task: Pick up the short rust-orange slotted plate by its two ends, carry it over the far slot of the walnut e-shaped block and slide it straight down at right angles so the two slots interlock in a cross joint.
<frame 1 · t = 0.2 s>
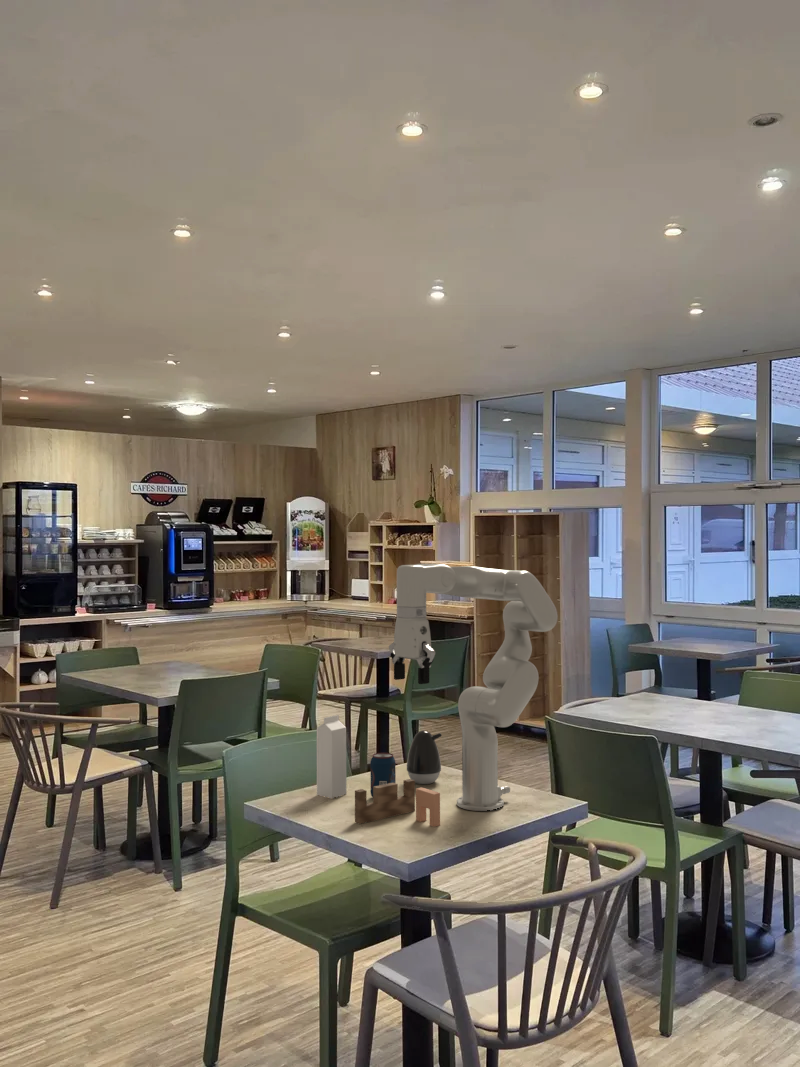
hand: (411, 681, 230), 35 cm above the table, tool pointing down, fingers open, 9 cm apart
pump dispenser: (424, 782, 269), on the table
slotted plate: (427, 822, 229), on the table
soda can: (383, 799, 252), on the table
milk: (331, 795, 256), on the table
walnut e-shaped block: (385, 816, 235), on the table
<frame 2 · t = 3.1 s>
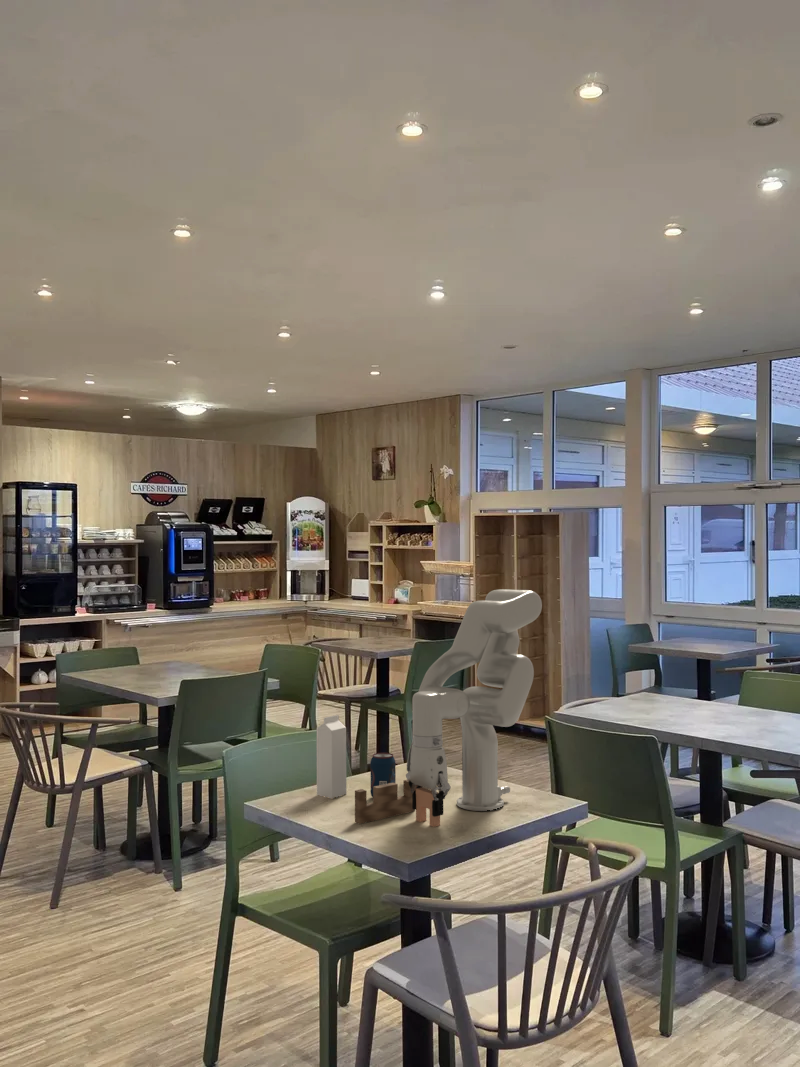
hand: (427, 811, 229), 3 cm above the table, tool pointing down, fingers closed on slotted plate, 7 cm apart
slotted plate: (427, 822, 229), on the table, touching gripper
everything else where it was.
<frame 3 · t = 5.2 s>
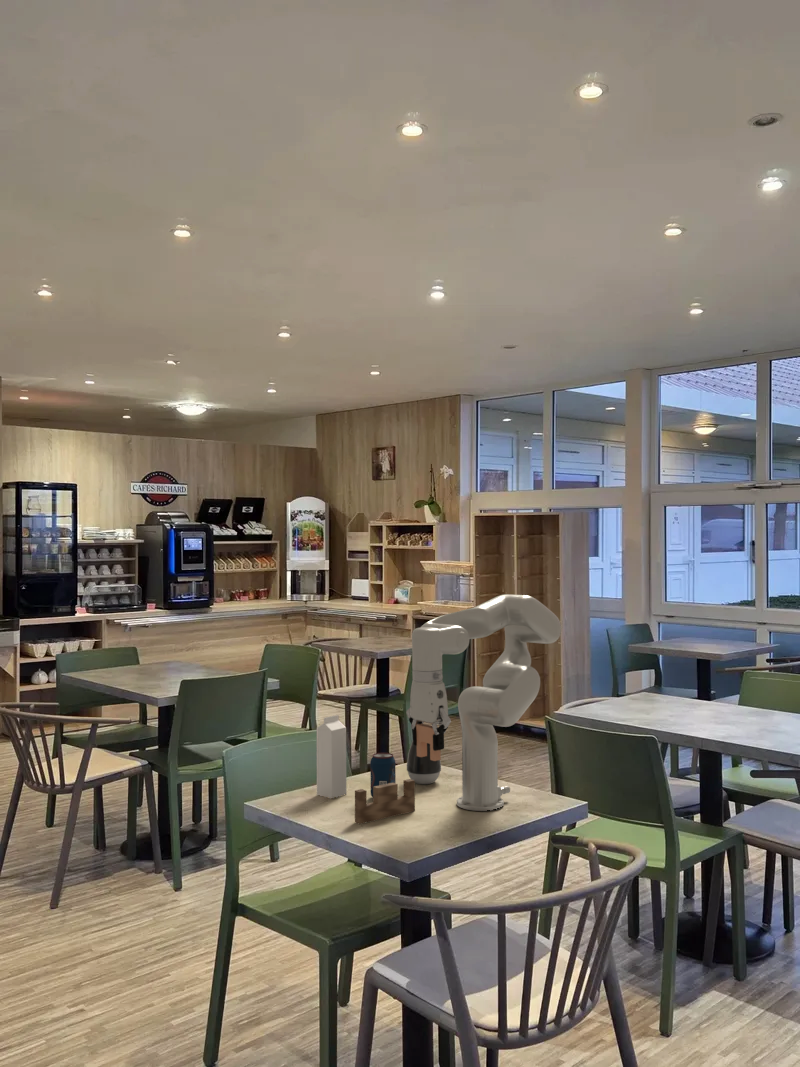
hand: (428, 746, 230), 19 cm above the table, tool pointing down, fingers closed on slotted plate, 7 cm apart
slotted plate: (428, 757, 230), point 16 cm above the table, touching gripper
everything else where it was.
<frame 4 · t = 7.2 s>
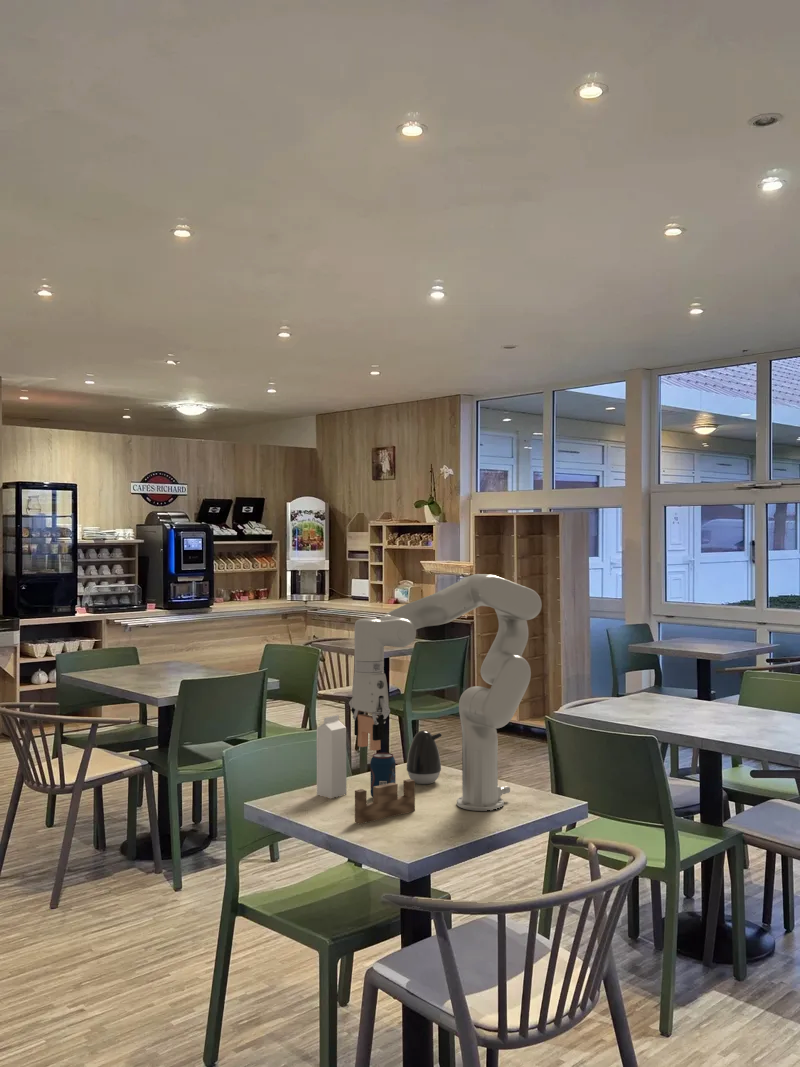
hand: (369, 736, 232), 21 cm above the table, tool pointing down, fingers closed on slotted plate, 7 cm apart
slotted plate: (369, 747, 232), point 18 cm above the table, touching gripper
everything else where it was.
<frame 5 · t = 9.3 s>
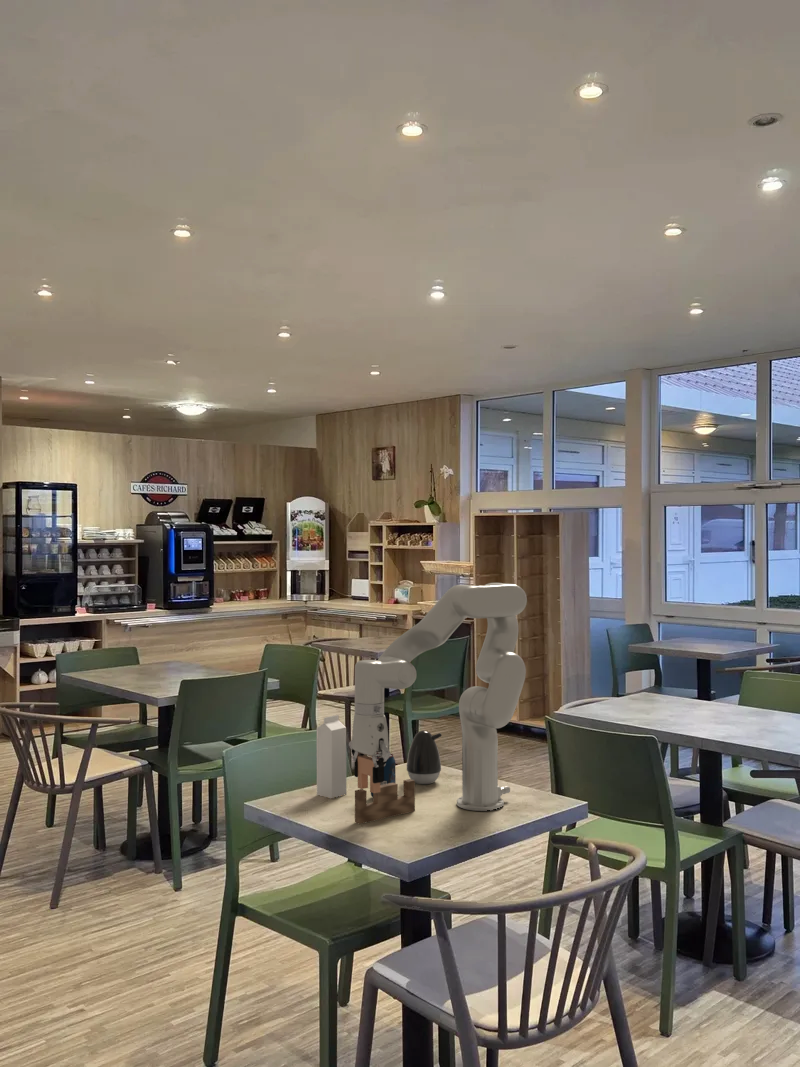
hand: (369, 778, 232), 11 cm above the table, tool pointing down, fingers closed on slotted plate, 7 cm apart
slotted plate: (368, 789, 232), point 8 cm above the table, touching gripper
everything else where it was.
when the fingers open (4 cm above the table, at t = 11.2 s): slotted plate stays where it is, resting on walnut e-shaped block.
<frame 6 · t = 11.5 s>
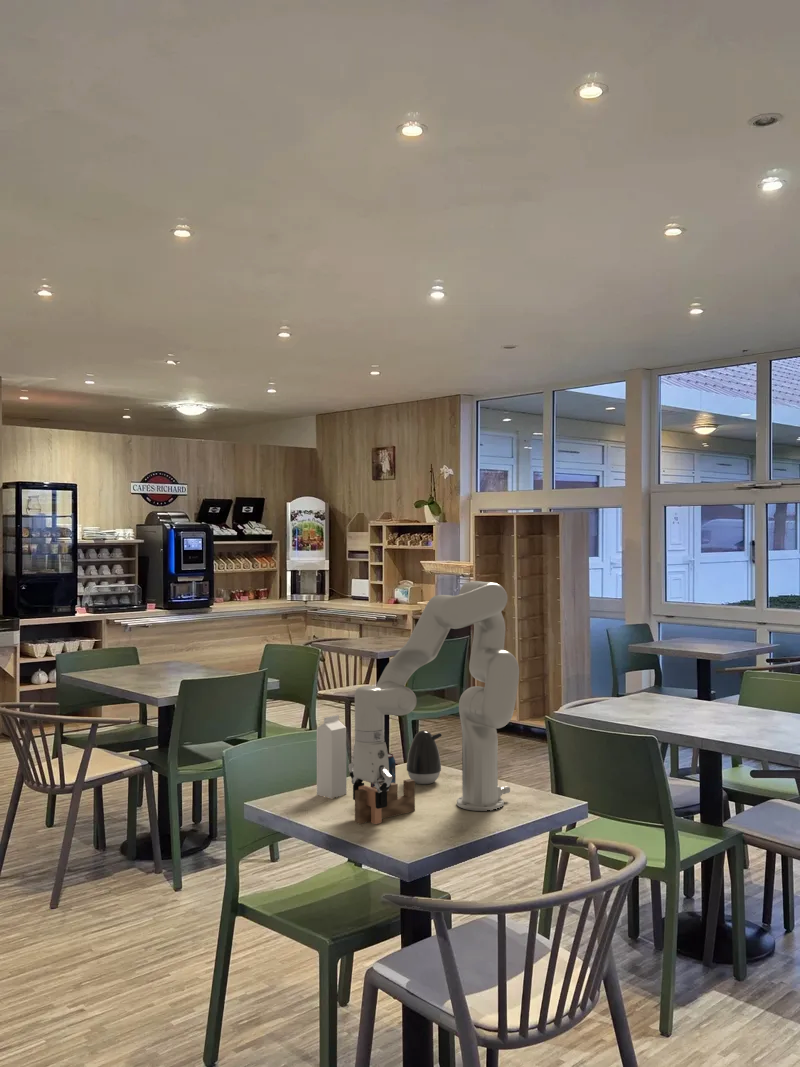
hand: (369, 803, 232), 4 cm above the table, tool pointing down, fingers open, 9 cm apart
slotted plate: (370, 820, 232), resting on walnut e-shaped block
everything else where it was.
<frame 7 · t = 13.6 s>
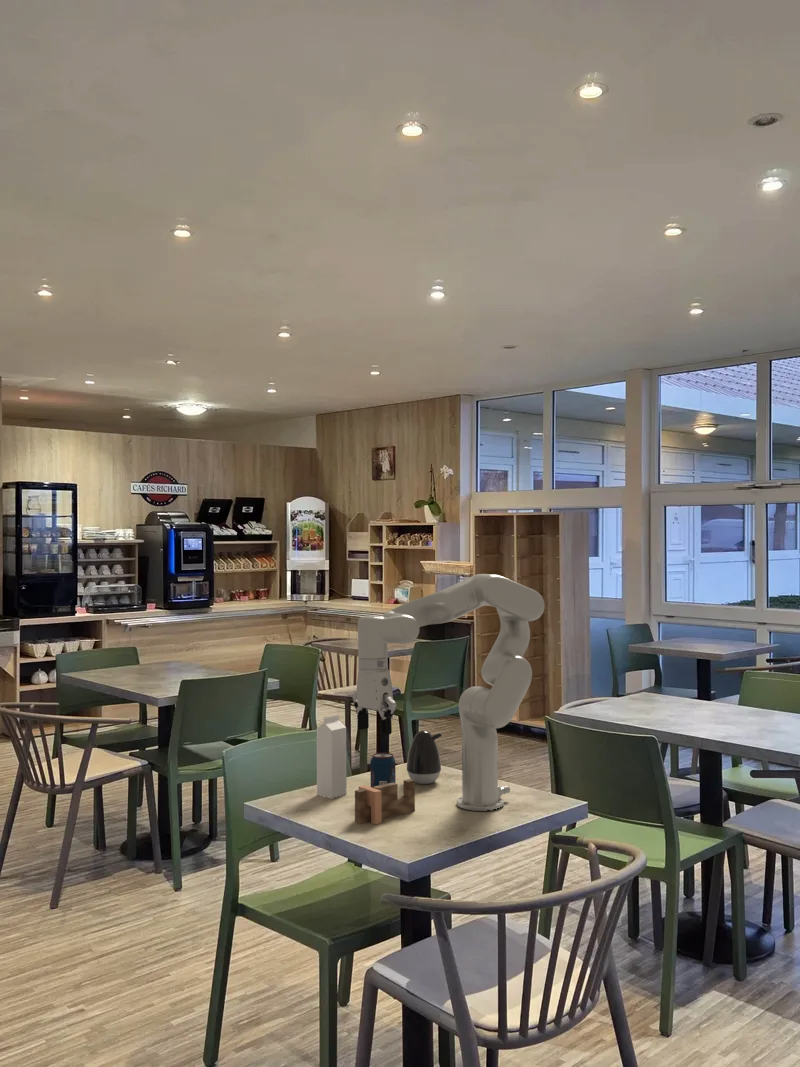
hand: (374, 731, 232), 22 cm above the table, tool pointing down, fingers open, 9 cm apart
nothing on the table moved.
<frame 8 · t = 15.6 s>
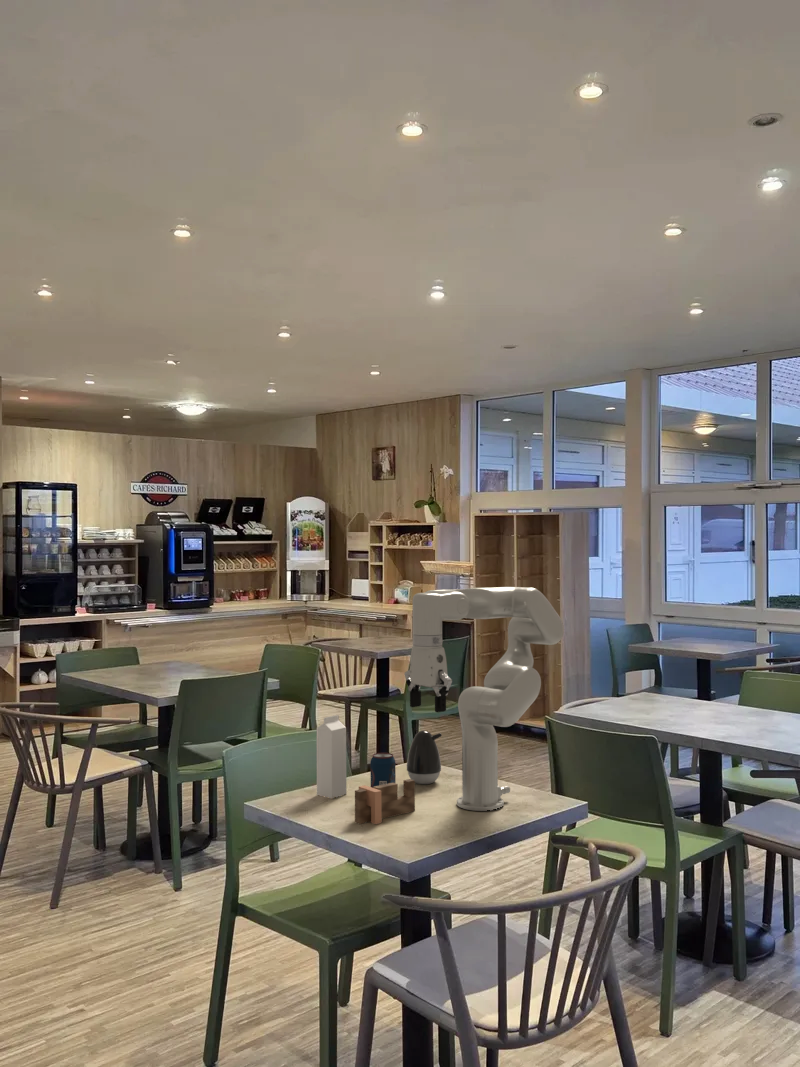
hand: (427, 709, 231), 28 cm above the table, tool pointing down, fingers open, 9 cm apart
nothing on the table moved.
at the end: slotted plate 0.0 cm from the target spot on the walnut e-shaped block, point 0.0 cm above the walnut e-shaped block's base; slotted plate tilted 0°; the gripper is holding nothing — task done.
